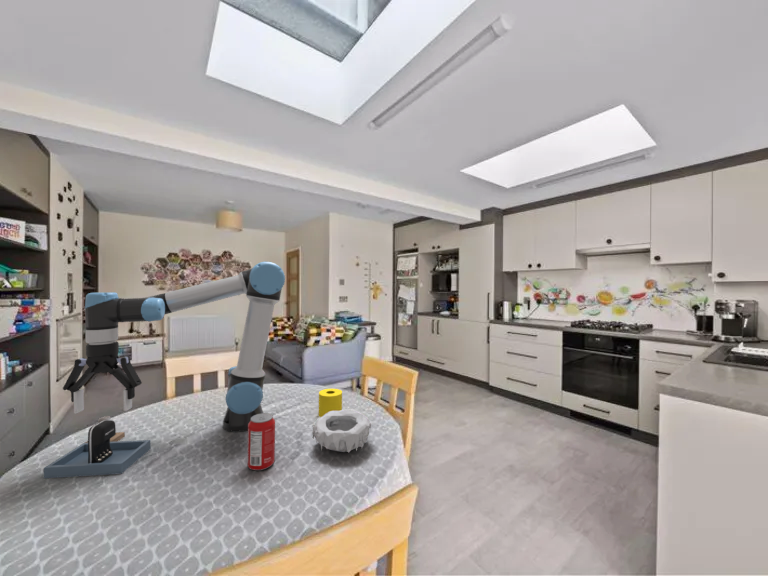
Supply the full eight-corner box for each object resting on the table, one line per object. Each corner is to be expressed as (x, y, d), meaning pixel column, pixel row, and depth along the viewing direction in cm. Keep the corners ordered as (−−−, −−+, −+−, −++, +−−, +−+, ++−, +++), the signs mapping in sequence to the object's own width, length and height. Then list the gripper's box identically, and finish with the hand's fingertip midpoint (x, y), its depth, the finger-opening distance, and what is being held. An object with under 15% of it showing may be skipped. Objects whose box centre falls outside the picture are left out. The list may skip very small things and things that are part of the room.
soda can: (248, 475, 92) (249, 424, 91) (246, 461, 99) (247, 414, 98) (276, 468, 95) (277, 419, 95) (272, 456, 102) (273, 410, 102)
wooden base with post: (124, 436, 113) (124, 412, 113) (108, 447, 105) (108, 422, 105) (100, 437, 112) (100, 413, 112) (81, 449, 104) (82, 423, 104)
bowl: (381, 440, 114) (382, 412, 114) (353, 469, 95) (353, 437, 95) (333, 428, 123) (334, 402, 123) (299, 453, 104) (299, 423, 104)
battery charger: (100, 465, 94) (101, 427, 94) (86, 466, 93) (87, 428, 93) (117, 453, 101) (117, 417, 101) (104, 453, 100) (104, 418, 100)
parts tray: (150, 448, 105) (150, 439, 105) (121, 473, 91) (121, 463, 91) (83, 452, 103) (83, 443, 102) (43, 478, 89) (43, 467, 89)
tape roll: (346, 412, 138) (346, 391, 138) (331, 420, 129) (331, 398, 129) (329, 407, 143) (329, 387, 143) (313, 415, 135) (313, 393, 135)
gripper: (153, 339, 102) (154, 403, 102) (67, 341, 99) (68, 408, 99) (139, 343, 95) (140, 413, 95) (45, 345, 91) (46, 418, 92)
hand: (103, 410), depth 97 cm, fingers open, 13 cm apart
